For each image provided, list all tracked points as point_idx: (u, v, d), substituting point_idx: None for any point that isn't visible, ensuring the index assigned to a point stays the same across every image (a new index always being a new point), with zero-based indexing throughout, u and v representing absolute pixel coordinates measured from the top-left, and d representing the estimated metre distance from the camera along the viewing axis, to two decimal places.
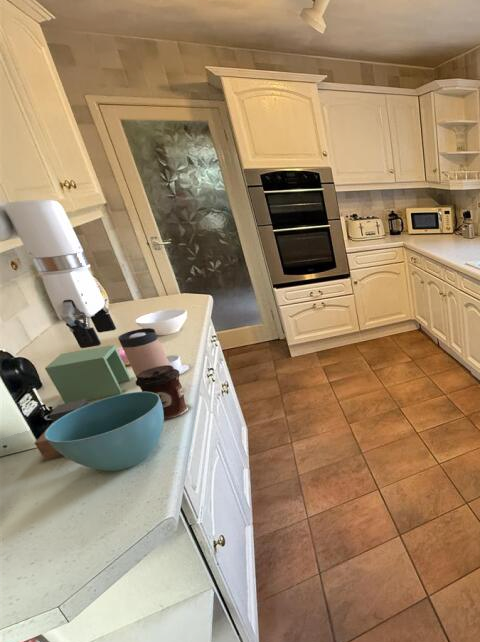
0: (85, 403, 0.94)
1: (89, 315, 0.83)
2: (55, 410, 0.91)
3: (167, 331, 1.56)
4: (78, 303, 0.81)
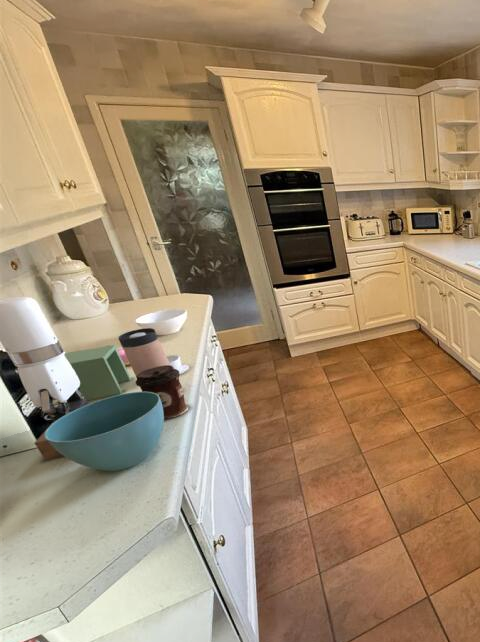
0: (85, 403, 0.94)
1: (63, 400, 0.88)
2: None
3: (167, 331, 1.56)
4: (52, 391, 0.86)
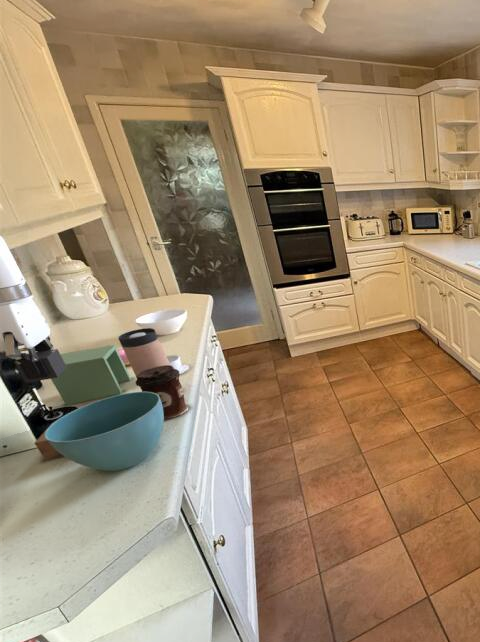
0: (55, 353, 0.89)
1: (30, 346, 0.82)
2: None
3: (167, 331, 1.56)
4: (18, 335, 0.80)
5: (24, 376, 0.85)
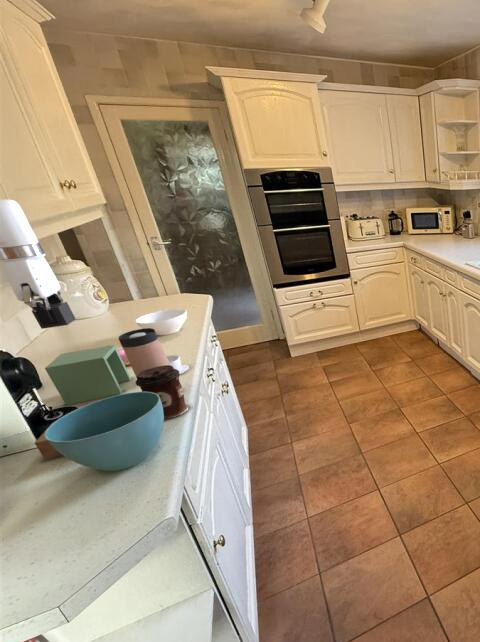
0: (65, 305, 1.04)
1: (43, 296, 0.98)
2: None
3: (167, 331, 1.56)
4: (33, 286, 0.96)
5: (39, 323, 1.01)
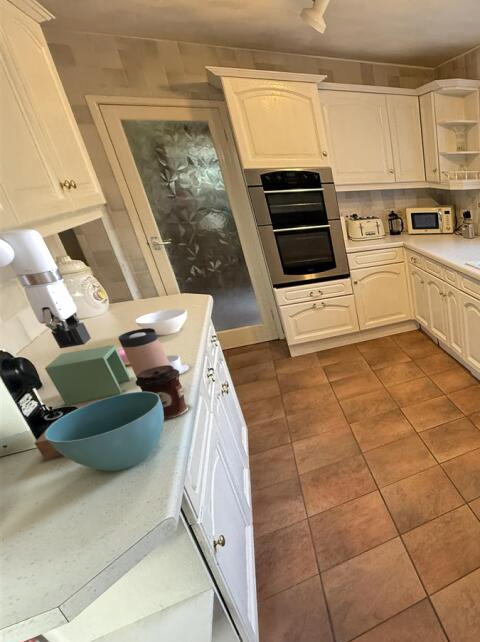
0: (81, 326, 1.11)
1: (62, 319, 1.05)
2: None
3: (167, 331, 1.56)
4: (53, 309, 1.03)
5: (58, 343, 1.08)
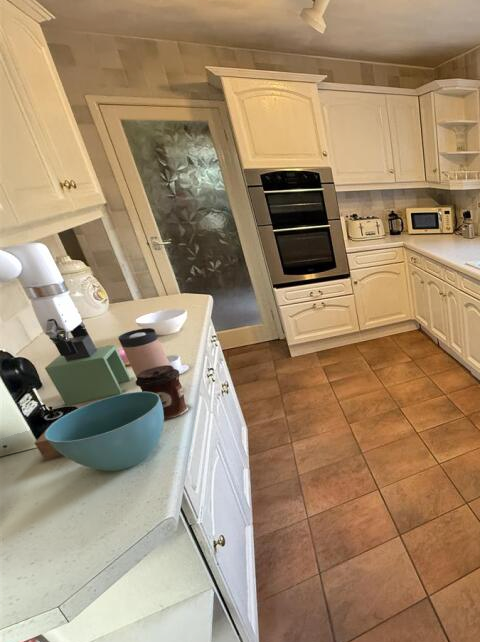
0: (87, 338, 1.13)
1: (68, 330, 1.06)
2: None
3: (167, 331, 1.56)
4: (59, 321, 1.04)
5: None
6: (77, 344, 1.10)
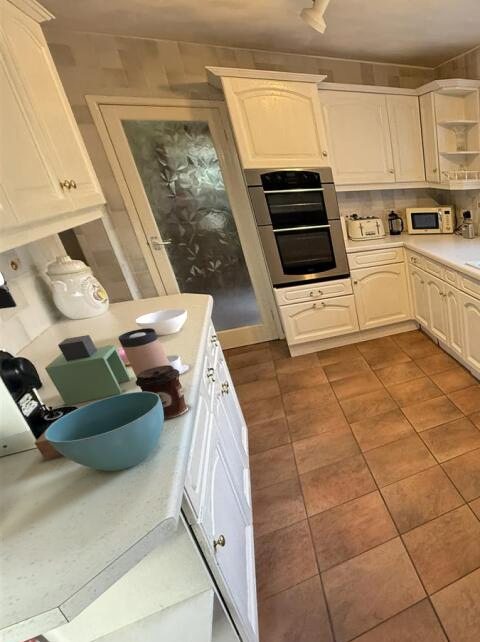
0: (87, 338, 1.13)
1: None
2: (63, 342, 1.10)
3: (167, 331, 1.56)
4: None
5: (65, 355, 1.09)
6: (77, 344, 1.10)
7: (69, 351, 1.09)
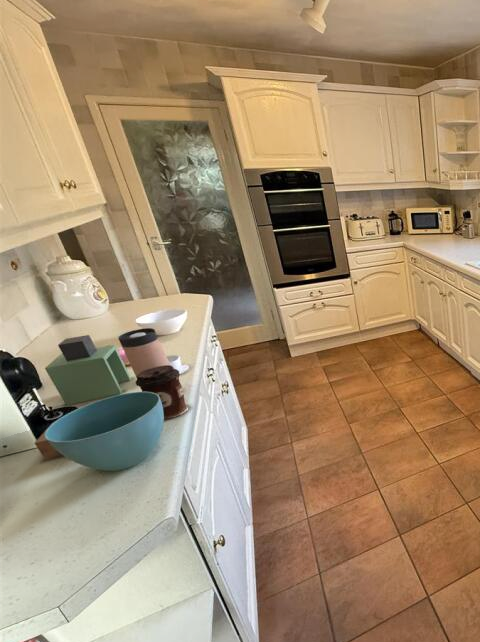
0: (87, 338, 1.13)
1: None
2: (63, 342, 1.10)
3: (167, 331, 1.56)
4: None
5: (65, 355, 1.09)
6: (77, 344, 1.10)
7: (69, 351, 1.09)
